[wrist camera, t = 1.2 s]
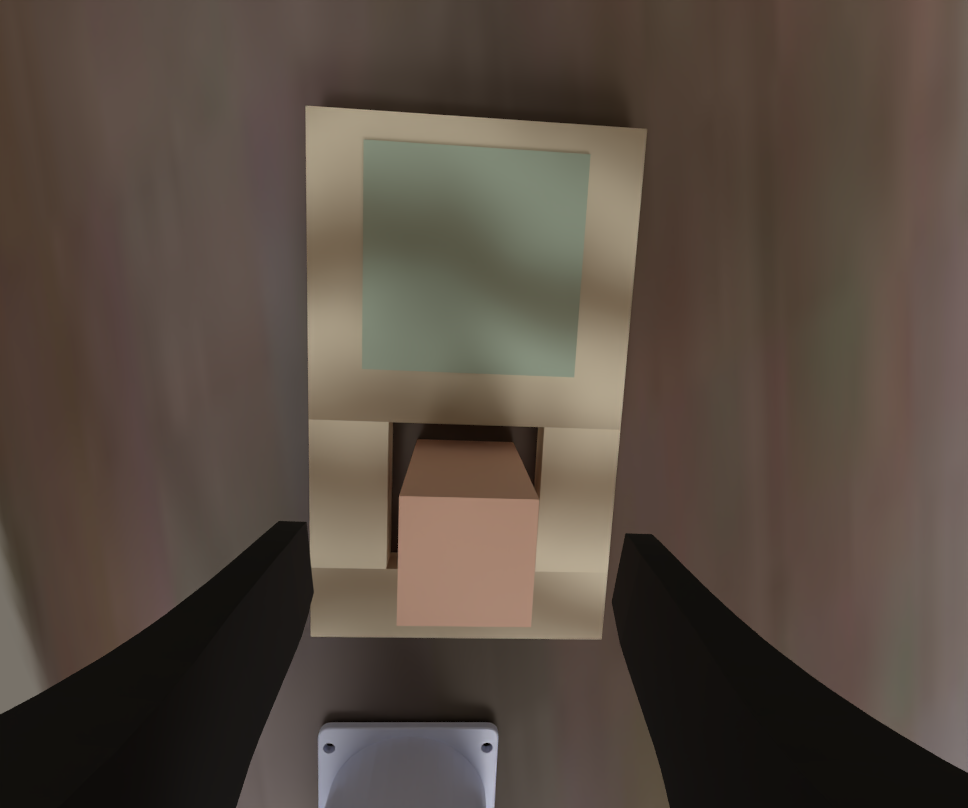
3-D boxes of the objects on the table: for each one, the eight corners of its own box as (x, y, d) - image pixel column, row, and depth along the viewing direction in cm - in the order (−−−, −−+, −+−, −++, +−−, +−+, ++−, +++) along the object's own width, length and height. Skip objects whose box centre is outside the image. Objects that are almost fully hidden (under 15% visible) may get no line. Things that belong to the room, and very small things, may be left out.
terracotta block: (508, 532, 22) (531, 627, 16) (415, 530, 22) (396, 625, 15) (513, 442, 22) (539, 499, 15) (417, 438, 22) (399, 496, 15)
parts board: (592, 619, 23) (602, 640, 22) (320, 615, 23) (310, 638, 21) (633, 142, 20) (648, 127, 18) (317, 121, 19) (304, 104, 18)
